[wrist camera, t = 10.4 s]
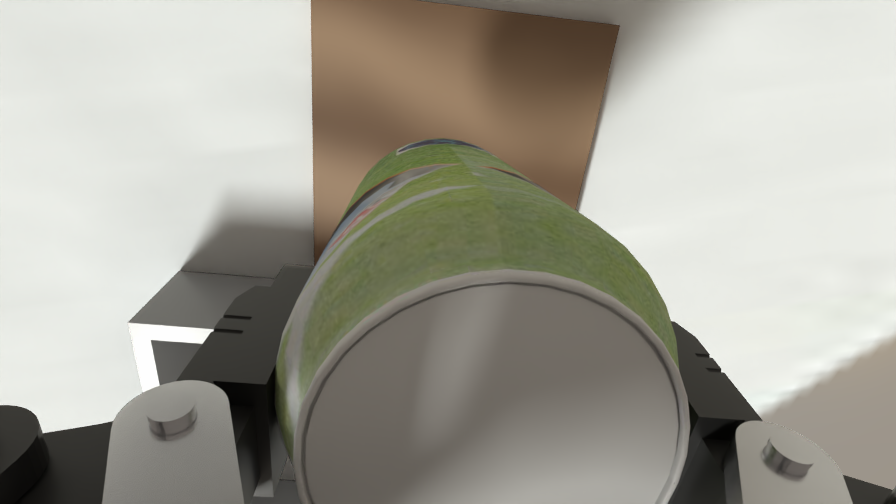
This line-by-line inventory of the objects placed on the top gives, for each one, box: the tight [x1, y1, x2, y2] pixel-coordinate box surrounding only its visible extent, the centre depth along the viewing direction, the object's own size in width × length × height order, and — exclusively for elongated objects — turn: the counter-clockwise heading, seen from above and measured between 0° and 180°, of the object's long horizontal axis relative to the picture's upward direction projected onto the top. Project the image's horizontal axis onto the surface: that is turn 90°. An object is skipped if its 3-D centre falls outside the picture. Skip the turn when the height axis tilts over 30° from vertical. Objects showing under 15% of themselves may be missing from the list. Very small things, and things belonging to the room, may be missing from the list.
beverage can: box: [275, 138, 690, 504], centre depth 11 cm, size 6×7×12 cm
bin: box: [128, 271, 302, 504], centre depth 26 cm, size 16×16×4 cm
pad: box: [311, 0, 620, 266], centre depth 22 cm, size 12×12×1 cm
